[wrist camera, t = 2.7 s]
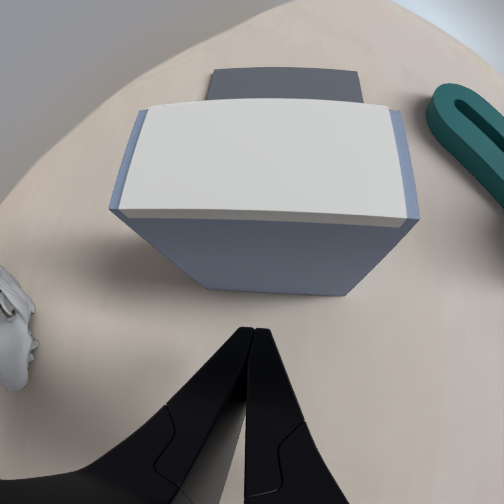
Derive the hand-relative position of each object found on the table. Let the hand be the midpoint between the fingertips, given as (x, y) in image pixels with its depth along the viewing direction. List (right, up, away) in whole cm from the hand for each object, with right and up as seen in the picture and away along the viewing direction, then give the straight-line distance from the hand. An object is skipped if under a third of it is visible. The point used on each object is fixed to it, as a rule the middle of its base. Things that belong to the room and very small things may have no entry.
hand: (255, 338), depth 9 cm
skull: (-19, -3, +11) cm, 22 cm away
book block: (+1, +2, +10) cm, 10 cm away
